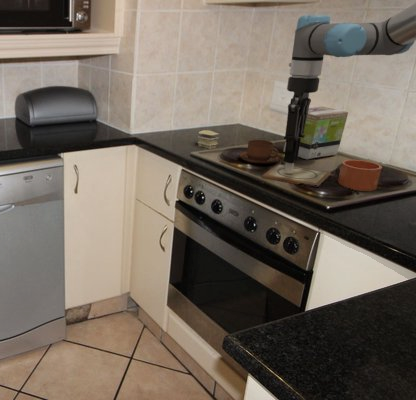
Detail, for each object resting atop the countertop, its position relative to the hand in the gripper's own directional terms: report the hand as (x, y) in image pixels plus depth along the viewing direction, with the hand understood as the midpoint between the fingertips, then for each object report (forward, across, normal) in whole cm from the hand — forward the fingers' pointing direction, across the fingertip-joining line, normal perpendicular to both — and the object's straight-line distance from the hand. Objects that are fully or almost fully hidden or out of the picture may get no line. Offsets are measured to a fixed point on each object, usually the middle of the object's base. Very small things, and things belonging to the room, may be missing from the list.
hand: (290, 160), depth 136 cm
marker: (+3, 0, 0) cm, 3 cm away
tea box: (+5, -30, -2) cm, 31 cm away
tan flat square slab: (+5, -2, +2) cm, 6 cm away
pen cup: (+5, -4, +17) cm, 18 cm away
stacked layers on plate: (+5, -17, -32) cm, 37 cm away
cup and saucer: (+5, -11, -12) cm, 17 cm away
